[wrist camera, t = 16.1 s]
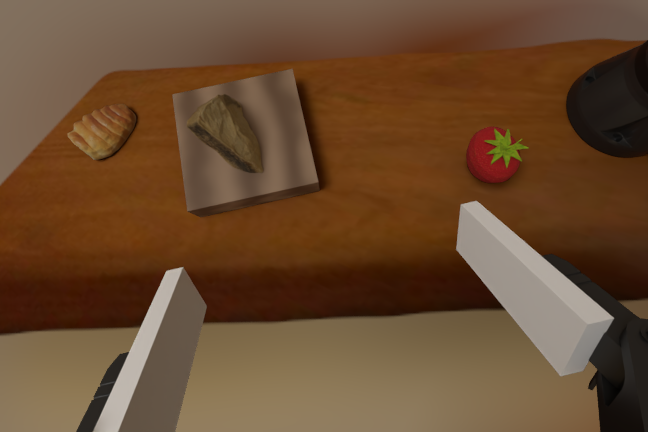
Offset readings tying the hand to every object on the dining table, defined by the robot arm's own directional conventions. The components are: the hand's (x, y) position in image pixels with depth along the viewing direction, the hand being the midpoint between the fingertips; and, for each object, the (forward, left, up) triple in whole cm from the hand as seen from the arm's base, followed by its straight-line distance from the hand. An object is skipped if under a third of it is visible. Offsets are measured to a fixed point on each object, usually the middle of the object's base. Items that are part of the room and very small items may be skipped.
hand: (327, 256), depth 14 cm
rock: (+8, -20, -24) cm, 33 cm away
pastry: (+30, -28, -28) cm, 50 cm away
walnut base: (+8, -21, -28) cm, 35 cm away
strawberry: (-24, -10, -28) cm, 38 cm away
